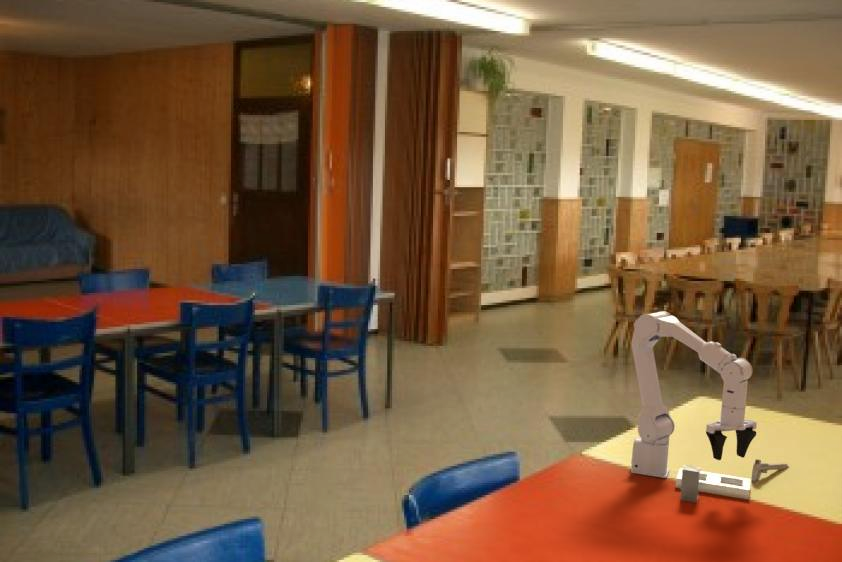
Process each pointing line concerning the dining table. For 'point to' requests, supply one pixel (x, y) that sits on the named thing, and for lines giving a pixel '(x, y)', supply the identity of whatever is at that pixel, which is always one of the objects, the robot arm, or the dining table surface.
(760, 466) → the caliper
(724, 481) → the white slotted board
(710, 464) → the dining table surface
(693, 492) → the peg
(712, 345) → the robot arm
